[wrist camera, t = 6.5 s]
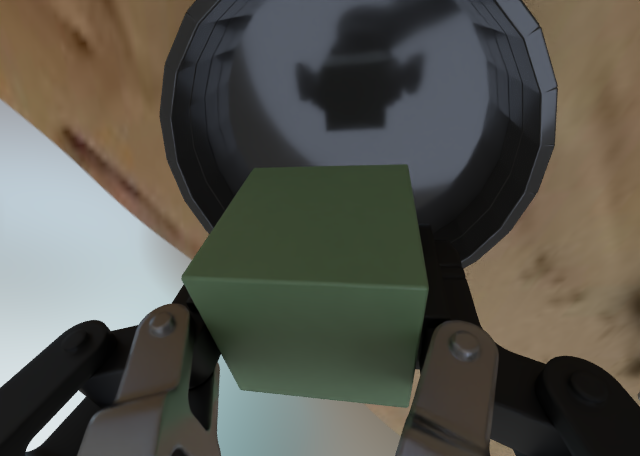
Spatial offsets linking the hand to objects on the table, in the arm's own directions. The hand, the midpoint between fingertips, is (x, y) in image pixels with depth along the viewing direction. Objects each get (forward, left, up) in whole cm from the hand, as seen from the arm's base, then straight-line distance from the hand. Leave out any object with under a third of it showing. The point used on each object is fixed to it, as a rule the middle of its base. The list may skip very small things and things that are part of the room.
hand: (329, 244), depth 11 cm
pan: (0, 0, -10) cm, 10 cm away
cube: (0, 0, -1) cm, 1 cm away
